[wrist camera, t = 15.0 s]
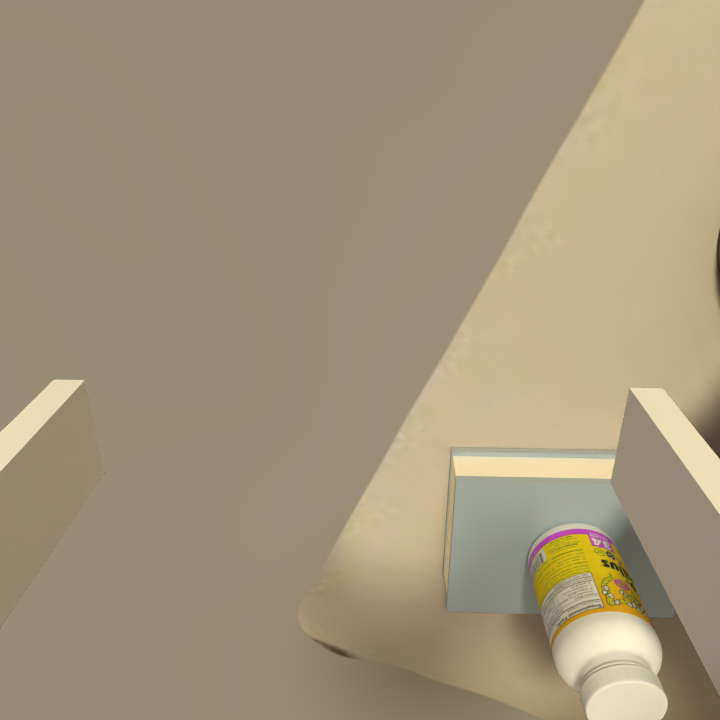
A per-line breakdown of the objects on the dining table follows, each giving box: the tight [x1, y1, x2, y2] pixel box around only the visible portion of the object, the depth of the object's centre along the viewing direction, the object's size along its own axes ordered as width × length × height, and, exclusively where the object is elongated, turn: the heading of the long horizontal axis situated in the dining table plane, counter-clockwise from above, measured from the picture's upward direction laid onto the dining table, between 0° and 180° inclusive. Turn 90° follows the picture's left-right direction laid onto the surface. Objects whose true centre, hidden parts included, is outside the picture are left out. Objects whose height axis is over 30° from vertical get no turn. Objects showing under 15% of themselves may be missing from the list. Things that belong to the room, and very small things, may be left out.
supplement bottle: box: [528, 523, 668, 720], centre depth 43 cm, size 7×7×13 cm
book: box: [443, 447, 675, 618], centre depth 50 cm, size 18×13×4 cm
